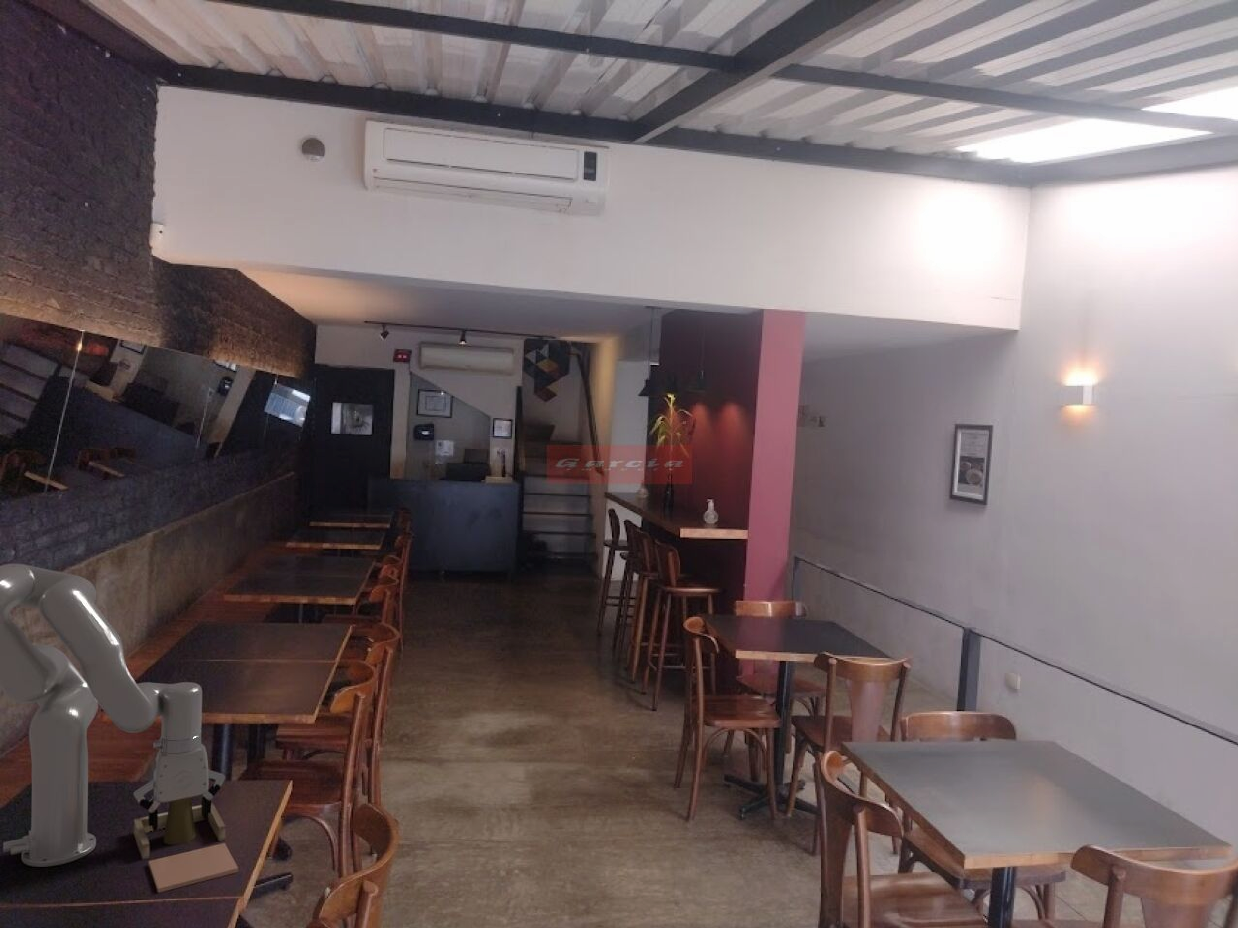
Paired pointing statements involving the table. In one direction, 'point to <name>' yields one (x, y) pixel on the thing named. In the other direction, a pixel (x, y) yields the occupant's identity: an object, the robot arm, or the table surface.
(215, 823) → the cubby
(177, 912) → the table surface
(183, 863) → the tile
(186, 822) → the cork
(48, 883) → the table surface
